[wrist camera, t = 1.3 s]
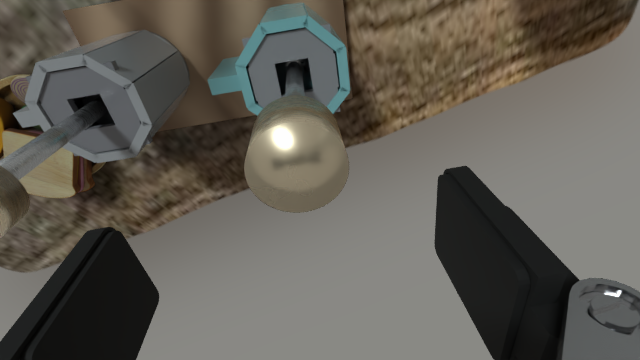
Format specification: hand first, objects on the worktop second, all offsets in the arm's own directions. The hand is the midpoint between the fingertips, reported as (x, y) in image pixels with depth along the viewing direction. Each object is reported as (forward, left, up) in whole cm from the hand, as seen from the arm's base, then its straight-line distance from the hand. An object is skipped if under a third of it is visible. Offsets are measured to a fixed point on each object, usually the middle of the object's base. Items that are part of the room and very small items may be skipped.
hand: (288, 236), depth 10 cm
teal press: (+1, 0, -28) cm, 28 cm away
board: (+7, 0, -30) cm, 30 cm away
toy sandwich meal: (+28, +5, -30) cm, 42 cm away
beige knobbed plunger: (0, 0, -20) cm, 20 cm away
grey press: (+16, 0, -28) cm, 33 cm away
